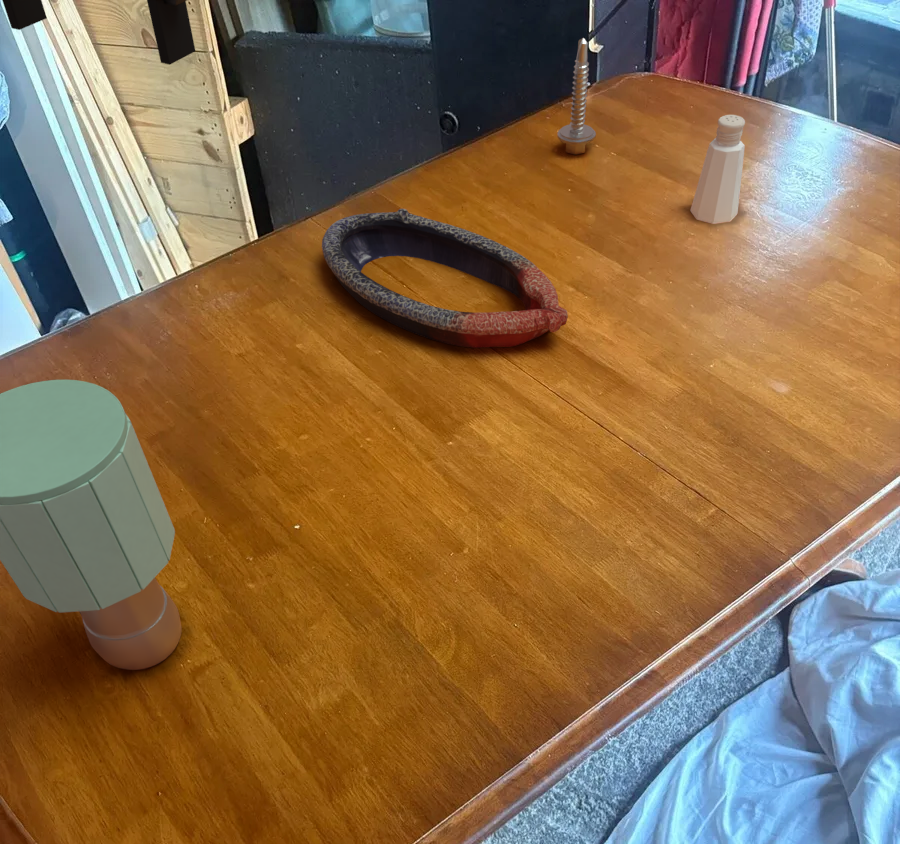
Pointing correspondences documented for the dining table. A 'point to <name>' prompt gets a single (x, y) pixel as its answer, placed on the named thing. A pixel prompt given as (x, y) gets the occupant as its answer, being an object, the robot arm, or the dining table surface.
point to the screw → (578, 107)
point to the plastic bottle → (135, 629)
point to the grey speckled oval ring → (452, 247)
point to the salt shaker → (721, 174)
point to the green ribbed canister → (77, 498)
